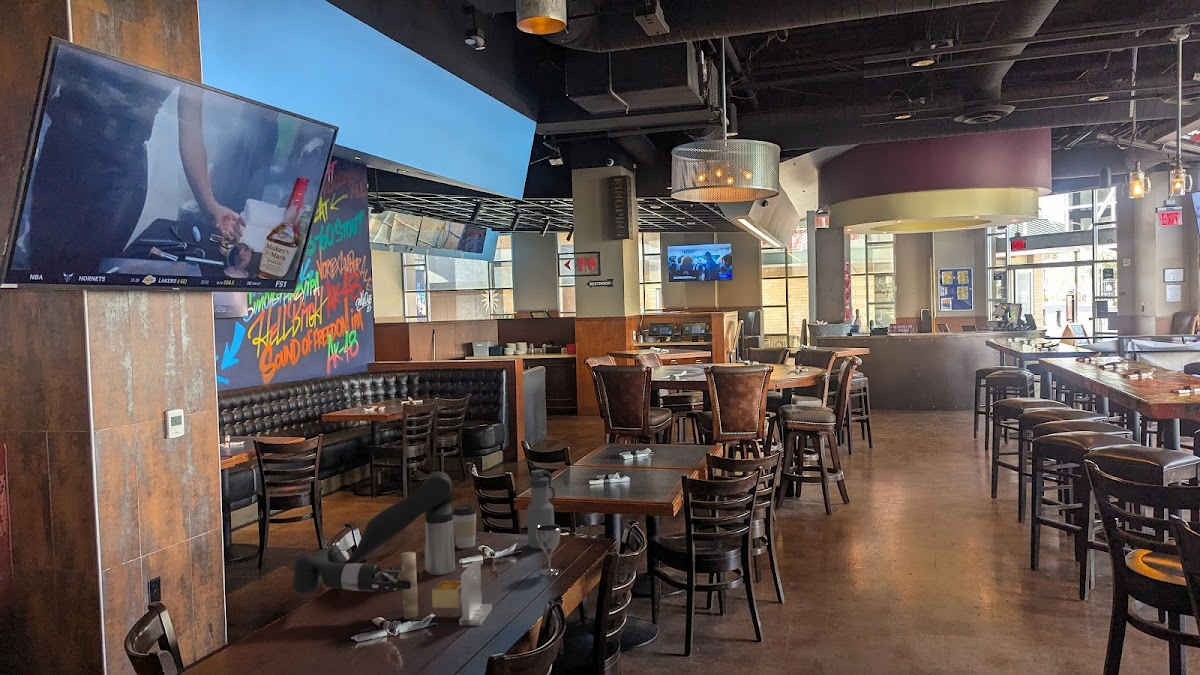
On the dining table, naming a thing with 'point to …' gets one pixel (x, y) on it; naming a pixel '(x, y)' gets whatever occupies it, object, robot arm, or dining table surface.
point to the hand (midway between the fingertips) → (415, 580)
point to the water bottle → (539, 504)
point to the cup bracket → (463, 596)
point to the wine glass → (548, 544)
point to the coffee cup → (465, 525)
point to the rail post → (411, 594)
